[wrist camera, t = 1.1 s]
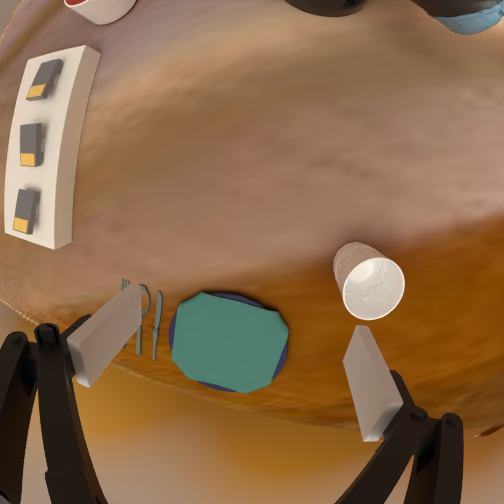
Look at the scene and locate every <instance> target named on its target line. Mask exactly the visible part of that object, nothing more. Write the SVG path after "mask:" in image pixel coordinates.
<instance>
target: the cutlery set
mask: <svg viewBox="0 0 504 504" xmlns="http://www.w3.org/2000/svg"><path fill="white" fill-rule="evenodd" d="M123 282H124V279H122V285H121V291H122V290H123V289H124V288H125V287H126V280H125V286H124V283H123ZM128 285H129V281H128ZM140 286H141V285H140ZM141 289H142V290H145V291H146V293H147V295H148V298H149V294H148V292H147V290H146V288H145V287H144V286H141ZM162 301H163V297H162V294H161V291H158V298H157V308H156V318H155V327H154V328H153V329H152V330H153V331H154V333H153V334H152V336H153V339H154V342H153V349H154V350H153V358H152V359H153V360H156V358H155V354H156V342H157V338H158V336H159V334H158V331H159V330H160V329H159V328H158V326H159V323H160V319H161V311H162ZM149 305H150V301H149ZM149 305H148V308H149ZM148 308H147V309H146V310H144V311H141V316H143V315H144V314H145V313H146V312H147V311H148ZM288 332H289V331H288V327H287V325H286V324H285V323H284V321H283V320H282V318H281V316H280V314H279V312H274V311H268V310H267V309H265V308H264V307H263V306H262V305H260V304H259V303H257V302H255V301H252V300H250V299H248V298H245V297H243V296H241V295H235V294H227V293H213V294H205V293H202V292H200V294H198V295H195V297H192V298H190V299H189V300H186V301H185V302H182V303H181V304H180V305H179V306H178V310H177V313H176V314H175V316H174V317H173V320H172V323H171V326H170V329H169V342H170V348H171V350H172V356H171V357H172V360H173V361H174V362H175V364H176V365H177V366H178V367H179V368H180V369H181V371H182V372H183V373H184V374H185V375H186V376H187V377H188V378H190V379H193V380H196V381H198V382H199V383H201V384H203V385H206V386H208V387H211V388H213V389H216V390H221V391H228V392H241V393H249V392H251V391H254V390H257V389H259V388H263V387H265V386H268V385H269V384H270V382H271V380H272V379H274V378H275V377H276V376H277V375H278V374H279V372H280V371H281V369H282V367H283V366H284V364H285V362H286V356H287V351H288V346H287V338H288ZM124 348H125V345H124V346H123V347H122V349H124ZM136 354H138V355H140V354H141V325H140V326H139V328H138V332H137V344H136Z"/></svg>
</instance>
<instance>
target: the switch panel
mask: <svg viewBox="0 0 504 504" xmlns="http://www.w3.org/2000/svg"><path fill="white" fill-rule="evenodd" d="M100 56H101V53H99V52H97V51H96V50H94V49H92V48H90V47H88V46H86V45H84V46H79V47H74V48H69V49H65V50H61V51H57V52H53V53H50V54H46V55H43V56H39V57H36V58H33V59H30V60H28V62H27V65H26V68H25V72H24V75H23V79H22V82H21V86H20V90H19V94H18V98H17V102H16V106H15V111H14V116H13V121H12V127H11V133H10V140H9V147H8V155H7V165H6V178H5V233H8V234H10V235H13V236H16V237H19V238H22V239H24V240H27V241H30V242H33V243H36V244H39V245H42V246H45V247H48V248H51V249H54V250H55V249H57V248H59V247H62V246H64V245H66V244H69V243H71V242H72V212H73V196H74V184H75V174H76V166H77V158H78V151H79V144H80V138H81V133H82V127H83V122H84V117H85V112H86V108H87V103H88V99H89V95H90V91H91V87H92V83H93V80H94V76H95V73H96V69H97V66H98V63H99V59H100ZM55 59H60V60H62V61H63V63H62V65H61V67H60V69H59V71H58V73H57V75H56V78H55V80H54V82H53V85H52V87H51V89H50V92H49V94H48V97H47V99H43V100H36V101H28V100H26V97H27V94H28V92H29V89H30V87H31V85H32V82H33V80H34V78H35V76H36V73H37V71H38V69H39V67H40V65H41V63H43V62H47V61H51V60H55ZM32 123H42V124H41V166H38V167H29V166H20V125H23V124H32ZM19 189H24V190H30V191H36V192H39V195H38V201H37V207H36V213H35V220H34V228H33V234H31V235H28V234H25V233H22V232H19V231H16V230H13V223H14V215H15V208H16V202H17V196H18V190H19Z"/></svg>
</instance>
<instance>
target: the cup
mask: <svg viewBox="0 0 504 504" xmlns="http://www.w3.org/2000/svg"><path fill="white" fill-rule="evenodd" d="M64 1H65V4H66V6H68V7H69V8H71V9H73V10H74V11H76V12H78V13H79V14H81V15H82V16H84V17H86V18H87V19H89V20H90V21H92V22H93V23H95V24H100V25H102V24H108V23H111V22H114V21H116V20H118V19H119V18H121V17H122V16H124V15H125V14H126V13H127V12H128V11H129V10H130V9H131V8H132V7H133V5H134V4H135V2H136V0H64Z"/></svg>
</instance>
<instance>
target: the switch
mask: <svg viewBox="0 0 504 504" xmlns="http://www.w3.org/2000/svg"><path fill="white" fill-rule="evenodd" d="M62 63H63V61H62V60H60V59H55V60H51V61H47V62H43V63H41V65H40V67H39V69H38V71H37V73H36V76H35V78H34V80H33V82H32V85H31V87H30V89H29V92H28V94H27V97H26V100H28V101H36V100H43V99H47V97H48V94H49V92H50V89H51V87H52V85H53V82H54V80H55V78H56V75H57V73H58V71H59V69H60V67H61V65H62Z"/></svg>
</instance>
